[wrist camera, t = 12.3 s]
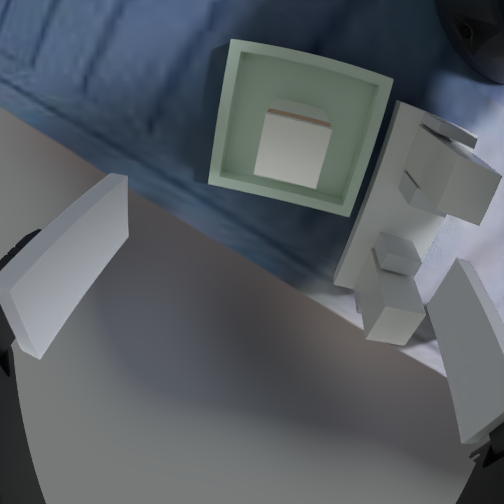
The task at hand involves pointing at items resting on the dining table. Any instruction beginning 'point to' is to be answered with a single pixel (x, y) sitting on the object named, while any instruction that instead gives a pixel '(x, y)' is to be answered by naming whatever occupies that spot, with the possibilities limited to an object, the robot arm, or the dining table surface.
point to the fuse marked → (293, 143)
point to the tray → (303, 91)
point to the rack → (396, 203)
